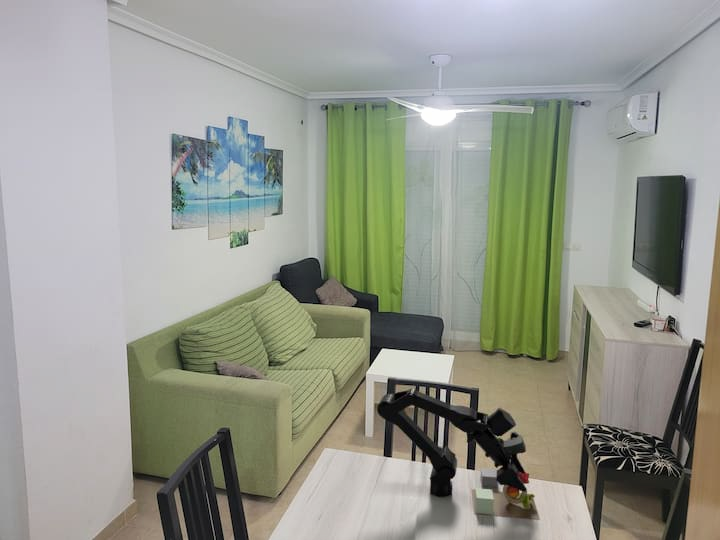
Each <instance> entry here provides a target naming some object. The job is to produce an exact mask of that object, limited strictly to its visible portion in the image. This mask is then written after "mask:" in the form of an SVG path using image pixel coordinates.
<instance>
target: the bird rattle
mask: <svg viewBox="0 0 720 540" xmlns="http://www.w3.org/2000/svg"><path fill="white" fill-rule="evenodd" d="M518 477H519V478H520V480H521V481H522V482H523V484H524V485H527V484H529V483H530V481H529V477H530V473H527V472H526V473H521V472H518ZM502 486H503V487H502V492H503V494H504V496H505V498H506V499H507V500H508V503H509V504H510V503H514V504H519V503H524V508H525V509H527V508H528V509H529V508H530V505H529V500H532V497H533V498H535V496H536V495H535V494H533V493H528V490H527V491H525V492H523V491H521V490H518V489H516V488H514V487H511V486H508V485H502ZM520 493H521V495H520V497H519V498H517V497H518V496H519V494H520ZM527 494H529V495H527Z"/></svg>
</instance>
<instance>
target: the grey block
mask: <svg viewBox="0 0 720 540" xmlns="http://www.w3.org/2000/svg"><path fill="white" fill-rule="evenodd" d="M497 470H498V469H497V468H484V467H483V468H482V467H481V468H480V484H481V486H482V487H490V488H498V484H499V483H498V482H497V481H496V476H497Z"/></svg>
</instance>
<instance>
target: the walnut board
mask: <svg viewBox="0 0 720 540" xmlns="http://www.w3.org/2000/svg"><path fill="white" fill-rule="evenodd" d="M492 492H493V498H494V505H493V515H492V514H481V513H476V511H475V489H474V488H473V489H471V497H472V498H471V499H472V507H473V514H474V515H482V516H489V517H491V516H492V517H502V518H503V517H504V518H511V519H512V518H514V519H524V520H534V521H535V520H536V521H541V518H540V515H539V512H538V508H537V505H536V502H535V499H534V498H535V497H532V500H529V505H530V508H529V509H528V508H527V509H525V508H524V503H519V504H514V503H510V504H509V503H508V500H507V499H506V498H505V496H504V494H503V491H497V490H496V491H495V490H492ZM521 493H522V492H520V494H519V496H518V497H517V498H519V497H520V495H521ZM529 494H530V493H527V495H529Z"/></svg>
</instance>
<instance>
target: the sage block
mask: <svg viewBox="0 0 720 540" xmlns="http://www.w3.org/2000/svg"><path fill="white" fill-rule="evenodd" d="M492 491H493V489H487V488H476V487H475V511H476V513H481V514H492V515H493V505H494V498H493V492H492Z"/></svg>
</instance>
